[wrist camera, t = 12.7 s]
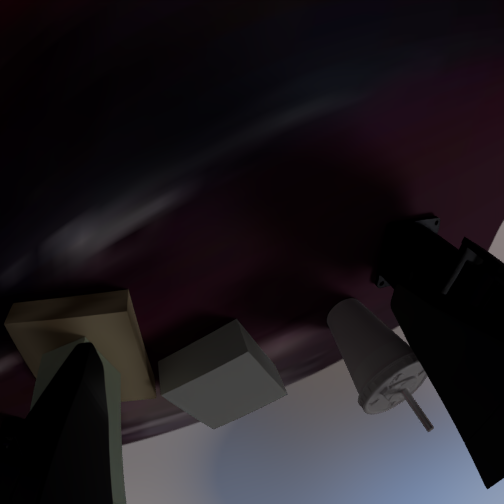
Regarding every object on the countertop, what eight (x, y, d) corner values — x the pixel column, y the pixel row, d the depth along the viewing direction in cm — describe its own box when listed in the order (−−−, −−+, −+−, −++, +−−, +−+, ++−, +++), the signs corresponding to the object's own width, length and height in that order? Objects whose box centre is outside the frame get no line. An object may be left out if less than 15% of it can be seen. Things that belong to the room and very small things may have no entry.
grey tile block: (235, 316, 26) (248, 351, 23) (274, 363, 30) (287, 394, 27) (157, 359, 26) (160, 395, 23) (206, 397, 31) (213, 429, 27)
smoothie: (349, 341, 32) (419, 447, 20) (301, 335, 29) (372, 463, 17) (383, 292, 29) (473, 396, 18) (337, 279, 27) (437, 406, 15)
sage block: (85, 336, 20) (72, 483, 10) (120, 373, 22) (126, 506, 13) (42, 354, 19) (20, 486, 10) (78, 388, 22) (73, 509, 13)
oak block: (128, 285, 22) (126, 311, 20) (154, 372, 27) (156, 398, 25) (15, 299, 20) (3, 324, 17) (58, 380, 25) (54, 404, 22)
